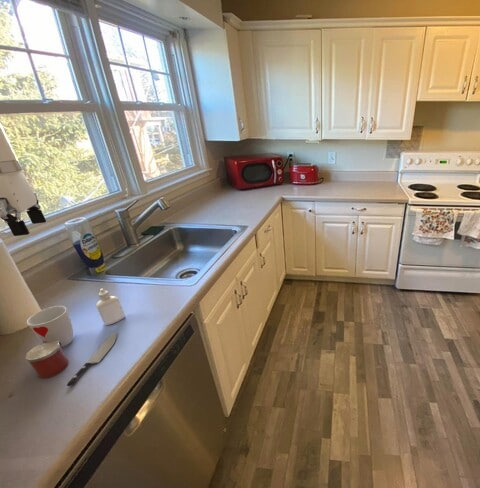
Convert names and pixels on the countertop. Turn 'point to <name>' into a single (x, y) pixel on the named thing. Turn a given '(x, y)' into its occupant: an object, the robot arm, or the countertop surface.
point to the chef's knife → (95, 356)
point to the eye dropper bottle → (109, 308)
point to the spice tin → (47, 359)
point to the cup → (52, 325)
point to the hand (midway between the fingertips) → (31, 228)
